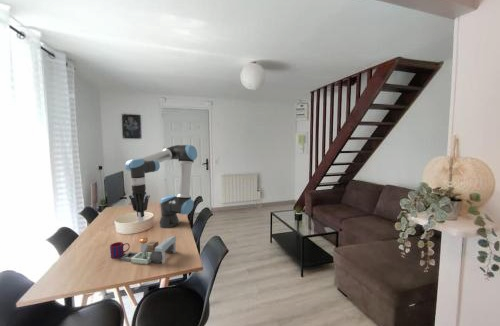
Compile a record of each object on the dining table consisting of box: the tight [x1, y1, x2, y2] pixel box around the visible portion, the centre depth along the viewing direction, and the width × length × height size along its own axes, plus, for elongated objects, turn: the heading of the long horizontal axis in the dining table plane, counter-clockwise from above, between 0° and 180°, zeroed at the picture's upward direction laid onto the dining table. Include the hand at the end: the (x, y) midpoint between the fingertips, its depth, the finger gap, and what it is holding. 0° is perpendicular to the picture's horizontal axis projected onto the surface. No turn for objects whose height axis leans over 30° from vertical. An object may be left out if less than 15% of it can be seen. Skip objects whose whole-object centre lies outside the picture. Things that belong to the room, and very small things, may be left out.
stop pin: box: [138, 237, 149, 259], centre depth 129 cm, size 4×4×12 cm
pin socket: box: [120, 251, 139, 262], centre depth 133 cm, size 7×7×2 cm
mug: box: [109, 241, 131, 259], centre depth 136 cm, size 7×10×7 cm
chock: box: [147, 240, 160, 253], centre depth 141 cm, size 6×4×5 cm
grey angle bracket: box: [150, 234, 177, 264], centre depth 133 cm, size 14×8×10 cm, turn 169°
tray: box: [130, 251, 152, 265], centre depth 130 cm, size 8×10×2 cm
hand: (141, 221), depth 141 cm, fingers closed
